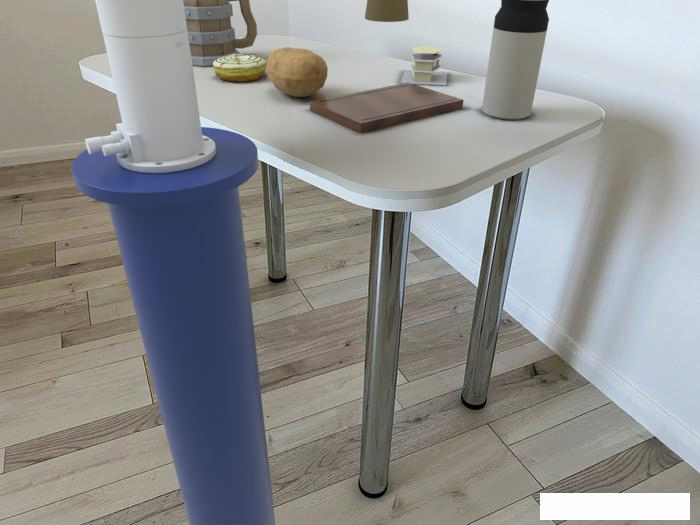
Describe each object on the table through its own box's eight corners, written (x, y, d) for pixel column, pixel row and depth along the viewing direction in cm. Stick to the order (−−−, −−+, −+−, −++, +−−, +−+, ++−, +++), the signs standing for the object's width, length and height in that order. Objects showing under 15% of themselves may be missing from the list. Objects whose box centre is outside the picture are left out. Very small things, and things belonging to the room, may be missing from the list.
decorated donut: (265, 69, 115) (263, 50, 113) (269, 82, 106) (267, 62, 104) (214, 71, 113) (212, 52, 111) (214, 84, 104) (212, 63, 102)
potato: (299, 83, 105) (297, 39, 101) (340, 100, 96) (340, 52, 92) (254, 90, 101) (250, 45, 96) (293, 109, 91) (291, 59, 87)
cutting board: (360, 133, 81) (360, 123, 80) (309, 110, 91) (309, 101, 90) (462, 108, 92) (463, 99, 92) (407, 90, 102) (408, 82, 101)
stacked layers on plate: (446, 85, 105) (449, 56, 102) (400, 83, 106) (402, 53, 103) (447, 73, 113) (450, 45, 110) (404, 71, 115) (406, 43, 112)
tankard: (186, 68, 115) (174, -11, 107) (177, 56, 125) (166, -17, 117) (276, 60, 122) (272, -14, 114) (261, 50, 132) (256, -20, 124)
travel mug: (520, 123, 86) (543, -2, 76) (473, 114, 90) (490, -7, 80) (537, 111, 91) (560, -7, 82) (492, 103, 95) (510, -11, 85)
